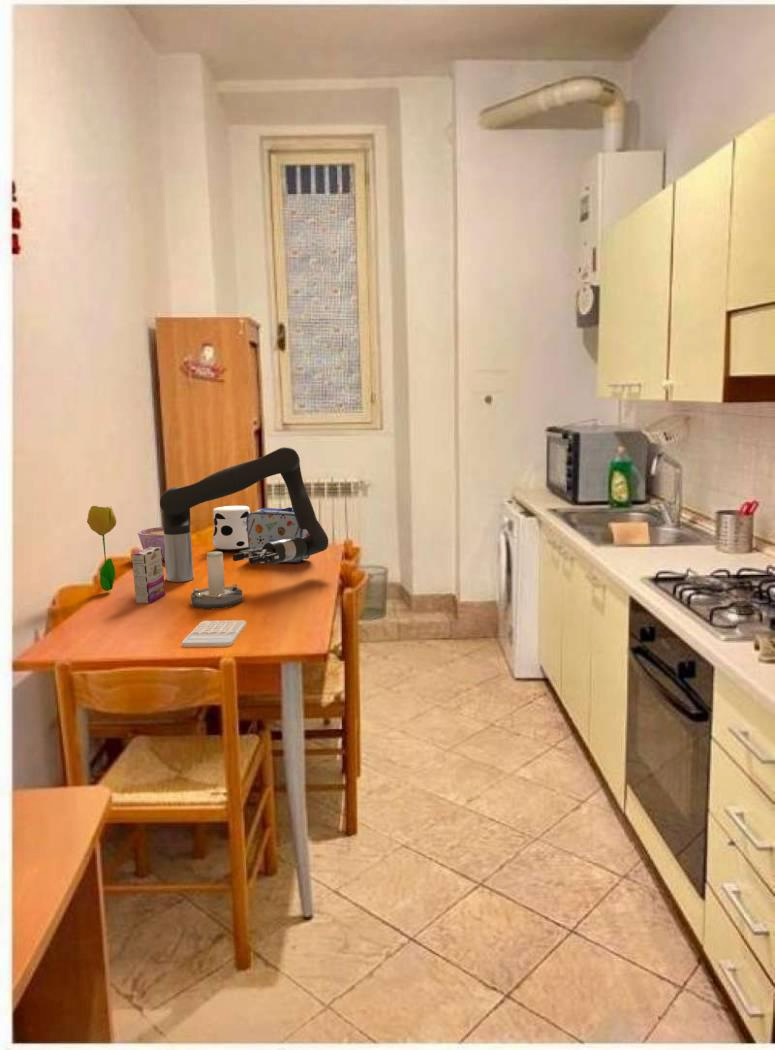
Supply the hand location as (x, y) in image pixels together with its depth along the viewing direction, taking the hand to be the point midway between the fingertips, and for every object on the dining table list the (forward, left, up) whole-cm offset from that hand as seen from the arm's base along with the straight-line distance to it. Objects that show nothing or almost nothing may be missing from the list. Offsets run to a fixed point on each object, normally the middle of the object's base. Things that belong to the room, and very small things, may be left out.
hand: (241, 559), depth 249 cm
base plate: (0, -10, -12) cm, 16 cm away
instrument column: (0, -10, -9) cm, 14 cm away
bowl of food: (-75, +18, -12) cm, 78 cm away
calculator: (+28, -32, -13) cm, 44 cm away
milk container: (-66, +46, -12) cm, 82 cm away
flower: (-41, -26, -12) cm, 50 cm away
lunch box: (-31, +44, -12) cm, 55 cm away
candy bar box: (-21, -22, -12) cm, 33 cm away
